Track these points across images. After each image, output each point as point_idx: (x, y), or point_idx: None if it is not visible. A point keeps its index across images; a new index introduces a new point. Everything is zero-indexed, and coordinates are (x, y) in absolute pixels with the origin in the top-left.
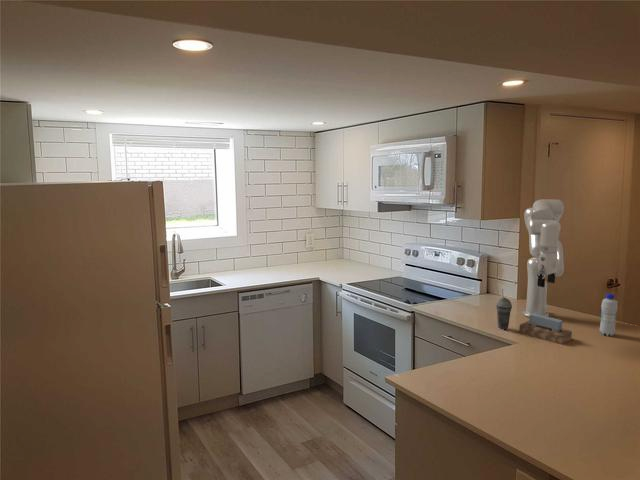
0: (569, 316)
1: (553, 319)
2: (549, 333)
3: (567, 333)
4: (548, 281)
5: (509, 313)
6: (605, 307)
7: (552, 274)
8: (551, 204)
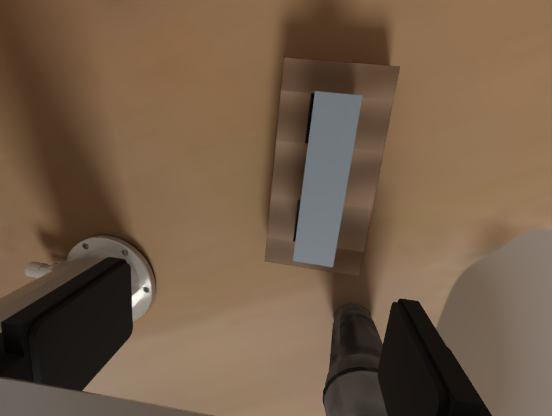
0: (24, 176)
1: (332, 139)
2: (386, 132)
3: (333, 61)
4: (127, 327)
5: (365, 348)
6: None
7: (19, 370)
8: None
